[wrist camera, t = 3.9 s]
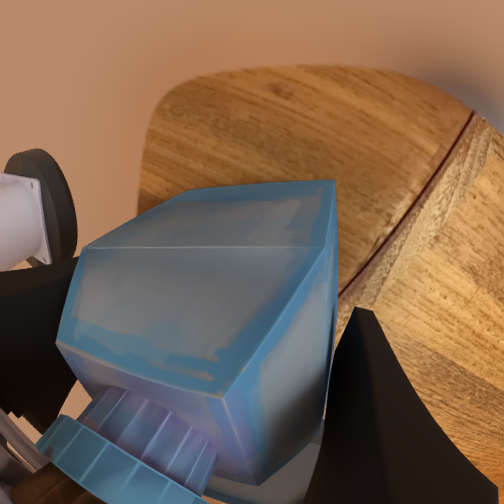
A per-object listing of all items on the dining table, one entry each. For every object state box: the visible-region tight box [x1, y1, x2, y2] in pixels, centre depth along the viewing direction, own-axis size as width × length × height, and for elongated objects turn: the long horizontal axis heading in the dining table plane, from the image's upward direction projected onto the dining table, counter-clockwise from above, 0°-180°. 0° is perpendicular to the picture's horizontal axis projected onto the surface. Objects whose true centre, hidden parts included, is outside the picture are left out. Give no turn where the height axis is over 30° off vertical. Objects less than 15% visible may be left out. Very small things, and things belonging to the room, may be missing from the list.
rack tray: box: [202, 420, 325, 504], centre depth 26 cm, size 16×36×2 cm, turn 172°
